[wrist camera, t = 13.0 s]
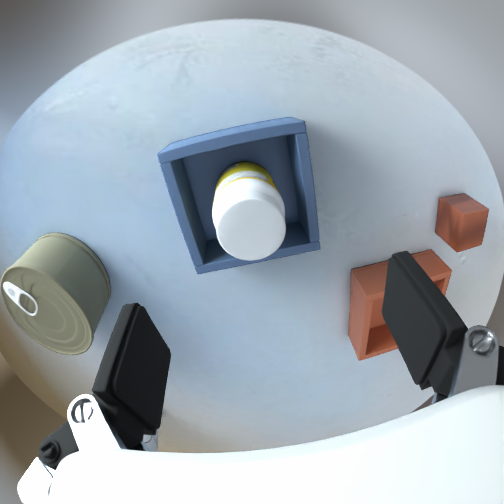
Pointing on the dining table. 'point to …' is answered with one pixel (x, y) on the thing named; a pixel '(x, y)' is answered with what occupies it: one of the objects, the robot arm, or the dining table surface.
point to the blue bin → (216, 160)
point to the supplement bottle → (248, 211)
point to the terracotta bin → (371, 300)
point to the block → (461, 221)
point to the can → (57, 293)
